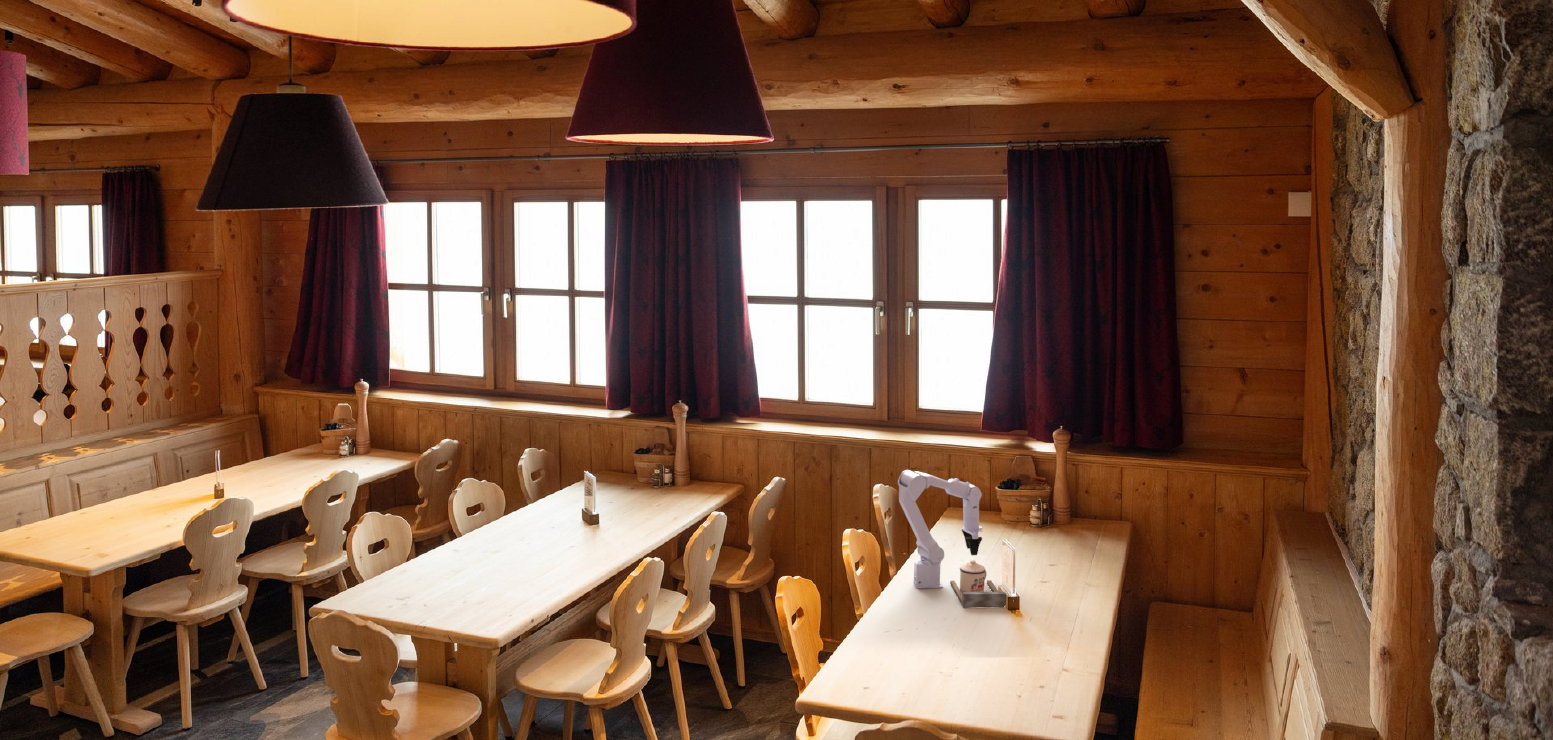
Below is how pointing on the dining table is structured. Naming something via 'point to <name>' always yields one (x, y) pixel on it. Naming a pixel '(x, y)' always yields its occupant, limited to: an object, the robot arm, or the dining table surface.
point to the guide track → (980, 597)
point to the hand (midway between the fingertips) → (972, 551)
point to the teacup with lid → (972, 577)
